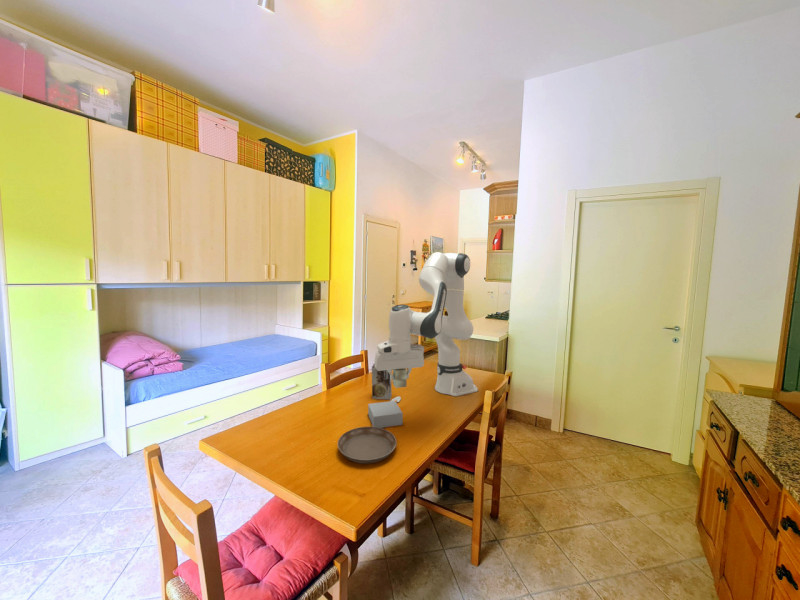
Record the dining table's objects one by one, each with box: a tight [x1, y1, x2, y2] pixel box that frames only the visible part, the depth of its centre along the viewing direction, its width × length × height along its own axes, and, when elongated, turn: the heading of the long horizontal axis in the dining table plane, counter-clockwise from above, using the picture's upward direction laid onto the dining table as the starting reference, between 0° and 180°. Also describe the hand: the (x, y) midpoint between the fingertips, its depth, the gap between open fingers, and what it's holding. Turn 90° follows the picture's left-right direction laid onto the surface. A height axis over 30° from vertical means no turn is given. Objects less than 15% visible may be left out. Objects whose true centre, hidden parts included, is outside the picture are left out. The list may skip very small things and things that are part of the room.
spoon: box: [390, 396, 402, 403], centre depth 145 cm, size 4×21×2 cm, turn 147°
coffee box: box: [371, 362, 393, 400], centre depth 154 cm, size 9×6×16 cm
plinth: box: [367, 400, 404, 429], centre depth 132 cm, size 12×12×5 cm
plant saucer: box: [337, 426, 397, 464], centre depth 111 cm, size 21×21×3 cm
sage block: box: [392, 368, 408, 389], centre depth 126 cm, size 4×4×7 cm
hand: (399, 378), depth 127 cm, fingers closed on sage block, 4 cm apart
